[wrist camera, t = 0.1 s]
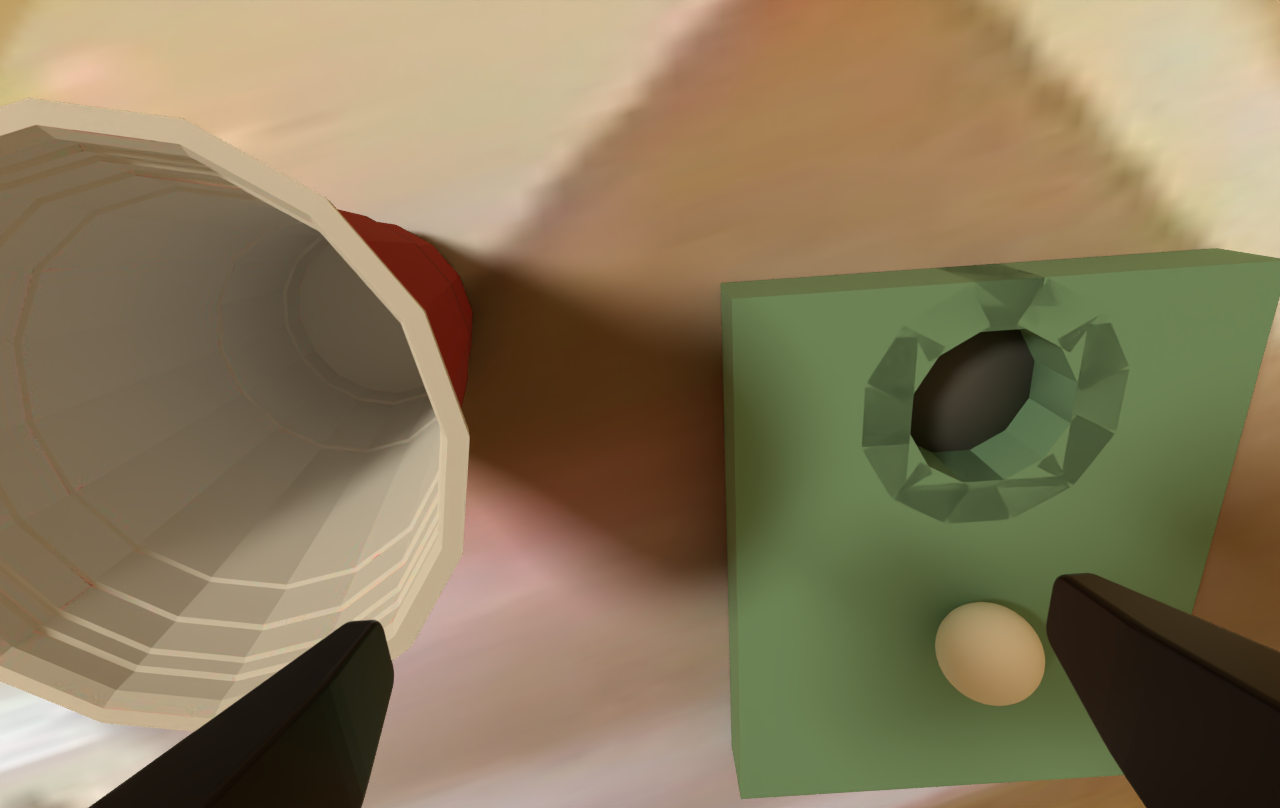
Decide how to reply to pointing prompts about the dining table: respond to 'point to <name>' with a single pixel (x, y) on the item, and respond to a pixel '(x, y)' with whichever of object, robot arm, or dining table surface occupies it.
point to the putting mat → (963, 493)
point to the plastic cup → (209, 417)
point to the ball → (990, 653)
